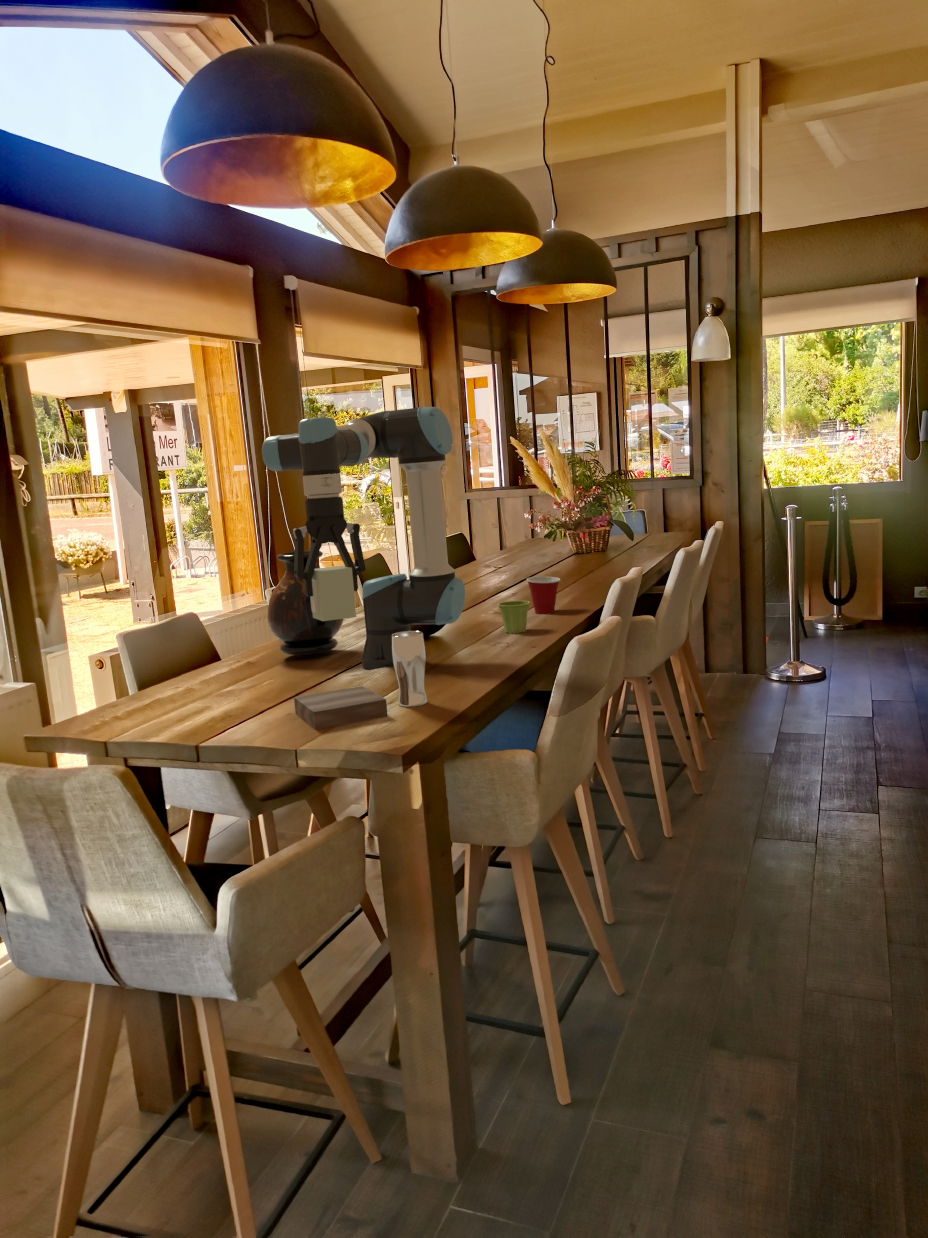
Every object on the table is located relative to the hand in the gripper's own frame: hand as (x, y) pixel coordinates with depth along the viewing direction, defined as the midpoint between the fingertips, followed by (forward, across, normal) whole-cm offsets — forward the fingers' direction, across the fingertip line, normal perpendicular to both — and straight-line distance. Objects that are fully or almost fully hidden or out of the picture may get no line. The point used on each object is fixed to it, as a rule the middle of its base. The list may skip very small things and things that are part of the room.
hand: (333, 609), depth 190 cm
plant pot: (+21, +71, +55) cm, 92 cm away
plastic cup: (+21, +93, +75) cm, 121 cm away
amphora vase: (+21, +15, +75) cm, 80 cm away
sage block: (+2, 0, 0) cm, 2 cm away
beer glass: (+22, +14, -3) cm, 26 cm away
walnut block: (+22, -1, -2) cm, 22 cm away
